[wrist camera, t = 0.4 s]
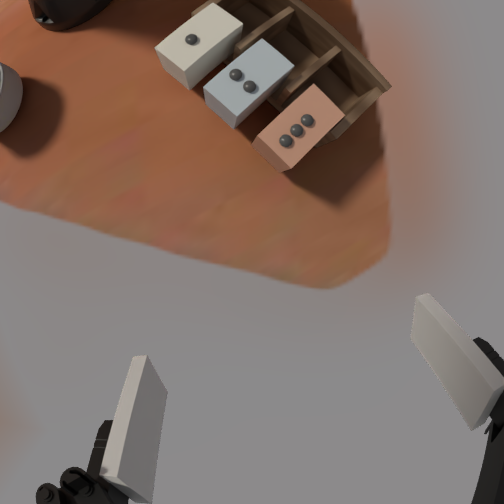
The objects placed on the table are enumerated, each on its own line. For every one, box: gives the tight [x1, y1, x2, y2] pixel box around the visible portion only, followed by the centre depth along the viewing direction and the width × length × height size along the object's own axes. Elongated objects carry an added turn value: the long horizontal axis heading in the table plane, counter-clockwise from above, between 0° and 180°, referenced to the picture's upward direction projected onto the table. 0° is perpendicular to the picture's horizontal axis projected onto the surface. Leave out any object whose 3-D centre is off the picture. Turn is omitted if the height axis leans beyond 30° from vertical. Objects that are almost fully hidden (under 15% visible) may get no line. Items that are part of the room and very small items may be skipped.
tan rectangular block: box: [251, 84, 345, 173], centre depth 30 cm, size 8×4×6 cm, turn 136°
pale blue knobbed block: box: [203, 39, 294, 129], centre depth 28 cm, size 8×4×6 cm, turn 136°
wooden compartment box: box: [191, 0, 392, 148], centre depth 29 cm, size 10×21×8 cm, turn 46°
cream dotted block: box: [155, 3, 243, 90], centre depth 27 cm, size 8×4×6 cm, turn 136°
